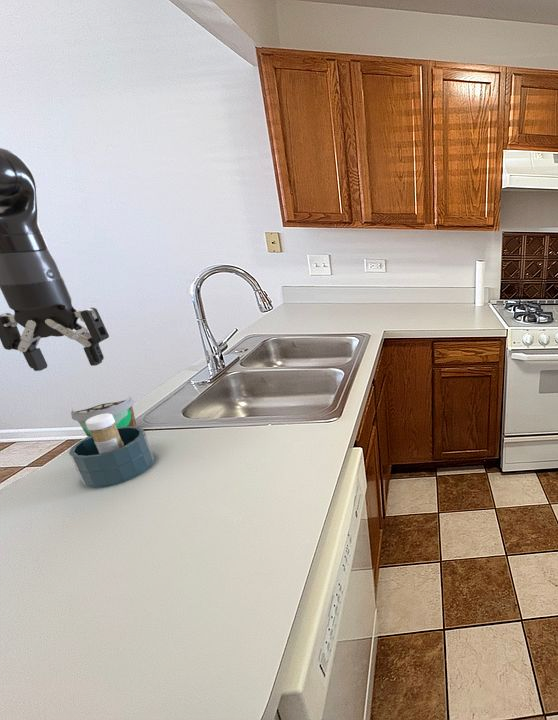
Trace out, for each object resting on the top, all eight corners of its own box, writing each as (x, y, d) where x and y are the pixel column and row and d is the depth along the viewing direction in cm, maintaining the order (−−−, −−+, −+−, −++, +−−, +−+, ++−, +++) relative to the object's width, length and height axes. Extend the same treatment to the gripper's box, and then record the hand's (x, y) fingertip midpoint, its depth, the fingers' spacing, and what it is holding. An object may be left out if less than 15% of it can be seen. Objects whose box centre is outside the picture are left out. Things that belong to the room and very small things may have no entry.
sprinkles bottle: (136, 460, 95) (116, 411, 90) (125, 472, 91) (104, 421, 86) (113, 463, 94) (92, 414, 89) (101, 475, 90) (79, 424, 85)
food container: (81, 454, 98) (65, 419, 94) (83, 443, 103) (68, 409, 99) (144, 436, 105) (132, 403, 102) (144, 427, 110) (132, 395, 106)
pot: (68, 492, 85) (53, 461, 82) (105, 457, 97) (93, 429, 94) (136, 483, 88) (124, 453, 85) (164, 451, 99) (154, 423, 96)
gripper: (94, 272, 72) (126, 355, 78) (-3, 277, 68) (38, 363, 75) (65, 280, 65) (102, 370, 71) (-44, 285, 62) (4, 379, 68)
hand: (69, 366), depth 73 cm, fingers open, 8 cm apart
